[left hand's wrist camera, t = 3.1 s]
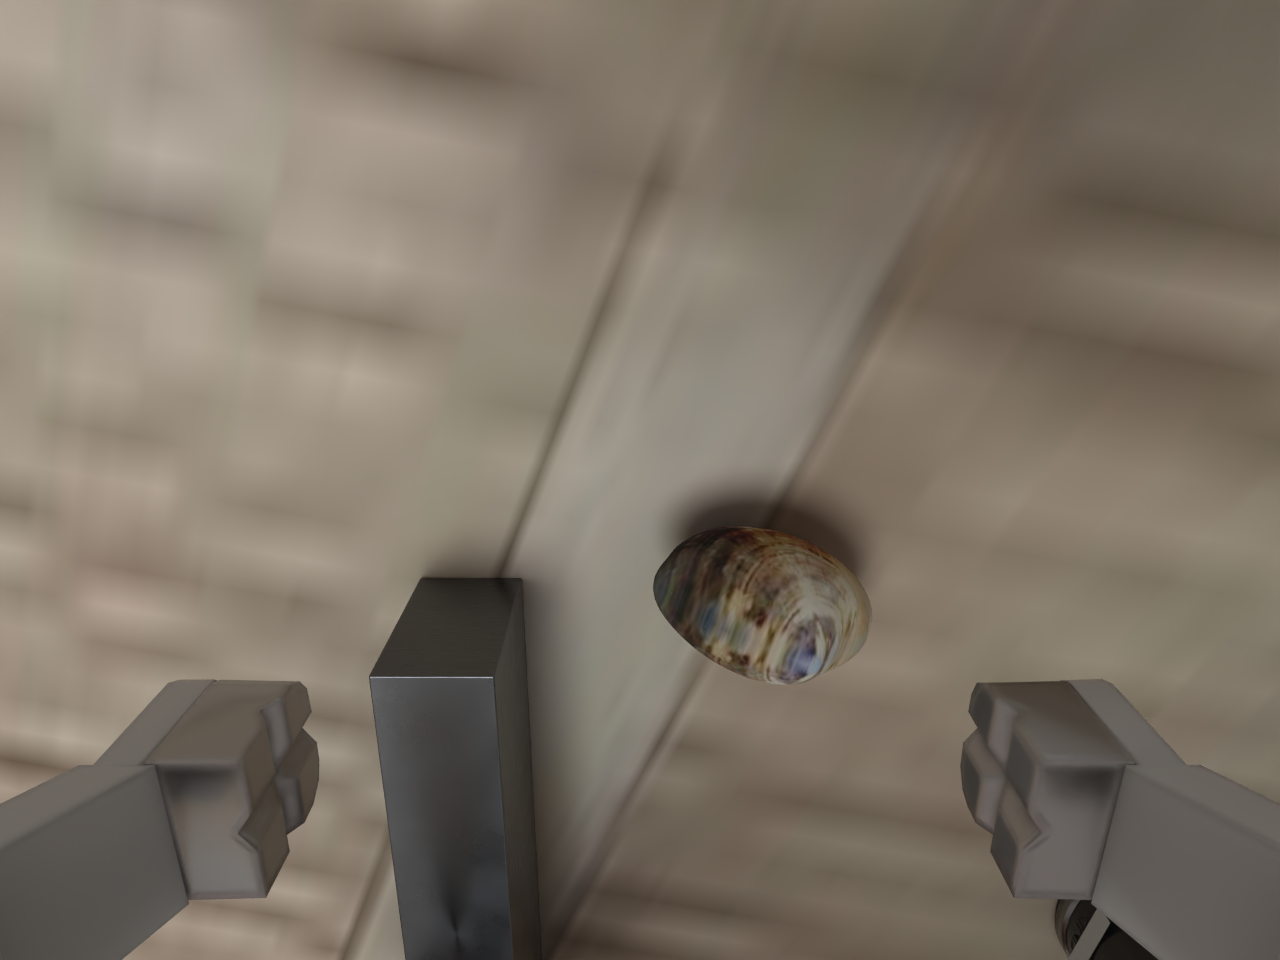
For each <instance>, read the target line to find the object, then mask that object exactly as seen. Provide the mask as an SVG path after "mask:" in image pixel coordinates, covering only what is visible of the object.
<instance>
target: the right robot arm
mask: <svg viewBox="0 0 1280 960" xmlns="http://www.w3.org/2000/svg"><path fill="white" fill-rule="evenodd" d="M1091 902H1092V900H1073V899H1061V900H1060V902H1059V905H1058V908H1057V912H1056V919H1055V927H1056V933H1057V936H1058V939H1059V941H1060V943H1061V945H1062V947H1063V949H1064V951H1065V953H1066V955H1067V956H1068V959H1069V960H1158V959H1157V958H1156V957H1155V956H1154V955H1152V954H1151V953H1150V952H1149V951H1148V950H1146V949H1145V948H1144V947H1143V946H1142V945H1140V944H1139V943H1138V942H1137V941H1135V940H1134V939H1133V938H1132V937H1131V936H1129V935H1128V934H1127V933H1126V932H1125V931H1123V930H1122V929H1121V928H1120V927H1119V926H1117V925H1116V924H1115V923H1114V922H1113V921H1111V920H1110V919H1109V918H1108V917H1107V916H1105V915H1104V914H1103V913H1102V912H1101V911H1099V910H1098V909H1097V908H1096V907H1095V906H1093V905H1092V904H1091Z"/></svg>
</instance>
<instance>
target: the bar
mask: <svg viewBox="0 0 1280 960" xmlns="http://www.w3.org/2000/svg"><path fill="white" fill-rule="evenodd" d="M369 680H370V688H371V696H372V704H373V711H374V719H375V727H376V735H377V742H378V750H379V758H380V766H381V773H382V781H383V789H384V796H385V804H386V812H387V820H388V827H389V835H390V843H391V851H392V858H393V866H394V874H395V882H396V889H397V897H398V905H399V913H400V920H401V928H402V936H403V943H404V951H405V959H406V960H542V954H541V935H540V916H539V897H538V878H537V858H536V839H535V820H534V801H533V782H532V763H531V744H530V725H529V706H528V687H527V668H526V649H525V630H524V611H523V592H522V579H420V581H419V583H418V584H417V586H416V588H415V590H414V592H413V594H412V596H411V598H410V600H409V601H408V603H407V605H406V607H405V609H404V611H403V613H402V615H401V617H400V619H399V620H398V622H397V624H396V626H395V628H394V630H393V632H392V634H391V636H390V638H389V639H388V641H387V643H386V645H385V647H384V649H383V651H382V653H381V655H380V657H379V658H378V660H377V662H376V664H375V666H374V668H373V670H372V672H371V674H370V675H369Z"/></svg>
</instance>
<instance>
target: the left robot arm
mask: <svg viewBox="0 0 1280 960" xmlns="http://www.w3.org/2000/svg"><path fill="white" fill-rule="evenodd" d="M311 712H312V711H311V706H310V701H309V696H308V691H307V688H306V687H305V686H304V685H303V684H302V683H301V682H299V681H251V680H219V681H217V680H177V681H174V682H170V683H168V684H167V685H166V686H165V687H164V688H163V689H162V690H161V691H160V692H159V694H158V695H157V696H156V697H155V698H154V699H153V700H152V701H151V702H150V703H149V704H148V706H147V707H146V708H145V709H144V710H143V711H142V712H141V713H140V714H139V715H138V717H137V718H136V719H135V720H134V721H133V722H132V723H131V724H130V725H129V726H128V727H127V729H126V730H125V731H124V732H123V733H122V734H121V735H120V736H119V737H118V738H117V739H116V741H115V742H114V743H113V744H112V745H111V746H110V747H109V748H108V749H107V750H106V752H105V753H104V754H103V755H102V756H101V757H100V758H99V759H98V760H97V761H96V762H95V764H94V765H79V766H77V767H75V768H73V769H71V770H69V771H67V772H64V773H62V774H60V775H58V776H56V777H54V778H52V779H50V780H48V781H46V782H44V783H42V784H40V785H38V786H36V787H34V788H32V789H30V790H28V791H26V792H24V793H22V794H20V795H18V796H16V797H13V798H11V799H9V800H7V801H5V802H3V803H1V804H0V960H122V959H123V958H124V957H126V956H127V955H128V954H129V953H130V952H132V951H133V950H134V949H135V948H136V947H138V946H139V945H140V944H141V943H142V942H144V941H145V940H146V939H147V938H148V937H150V936H151V935H152V934H153V933H154V932H156V931H157V930H158V929H159V928H160V927H162V926H163V925H164V924H165V923H167V922H168V921H169V920H170V919H171V918H173V917H174V916H175V915H176V914H177V913H179V912H180V911H181V910H182V909H183V908H185V907H186V906H187V905H188V903H189V902H188V900H206V899H240V898H266V897H267V895H268V893H269V891H270V889H271V887H272V885H273V883H274V881H275V879H276V877H277V875H278V873H279V871H280V870H281V868H282V866H283V864H284V862H285V860H286V858H287V856H288V854H289V852H290V850H289V844H288V839H287V834H289V833H290V832H292V831H293V830H294V829H296V828H297V827H299V826H300V825H302V824H303V823H304V822H305V820H306V818H307V816H308V814H309V812H310V810H311V808H312V806H313V804H314V799H315V795H316V790H317V786H318V781H319V755H318V748H317V742H316V741H315V740H314V739H313V738H312V737H311V736H310V735H309V734H308V733H307V732H306V731H305V730H304V729H303V728H302V727H303V726H304V724H305V722H306V720H307V719H308V717H309V715H310V714H311ZM968 712H969V714H970V715H971V717H972V719H973V720H974V722H975V724H976V726H977V727H978V728H977V729H976V730H975V731H974V732H973V733H972V734H971V735H970V736H969V737H968V738H967V739H966V740H965V741H964V742H963V749H962V757H961V765H960V767H961V778H962V789H963V792H964V796H965V799H966V802H967V806H968V808H969V810H970V812H971V814H972V816H973V818H974V820H975V822H976V823H977V824H978V825H980V826H981V827H983V828H984V829H986V830H987V831H988V832H990V833H991V834H993V839H992V844H991V850H990V852H991V854H992V856H993V858H994V860H995V862H996V864H997V866H998V868H999V869H1000V871H1001V873H1002V875H1003V877H1004V879H1005V881H1006V883H1007V885H1008V887H1009V889H1010V891H1011V893H1012V895H1013V897H1014V898H1038V899H1073V900H1092V902H1091V904H1092V905H1093V906H1095V907H1096V908H1097V909H1098V910H1099V911H1101V912H1102V913H1103V914H1104V915H1105V916H1107V917H1108V918H1109V919H1110V920H1111V921H1113V922H1114V923H1115V924H1116V925H1117V926H1119V927H1120V928H1121V929H1122V930H1123V931H1125V932H1126V933H1127V934H1128V935H1129V936H1131V937H1132V938H1133V939H1134V940H1135V941H1137V942H1138V943H1139V944H1140V945H1142V946H1143V947H1144V948H1145V949H1146V950H1148V951H1149V952H1150V953H1151V954H1152V955H1154V956H1155V957H1156V958H1157V959H1158V960H1280V804H1279V803H1277V802H1274V801H1272V800H1270V799H1268V798H1266V797H1264V796H1262V795H1260V794H1258V793H1256V792H1254V791H1252V790H1250V789H1248V788H1246V787H1244V786H1242V785H1240V784H1238V783H1236V782H1234V781H1232V780H1230V779H1228V778H1226V777H1224V776H1222V775H1220V774H1218V773H1215V772H1213V771H1211V770H1209V769H1207V768H1205V767H1203V766H1201V765H1186V764H1185V762H1184V761H1183V760H1182V759H1181V758H1180V757H1179V756H1178V755H1177V754H1176V753H1175V752H1174V750H1173V749H1172V748H1171V747H1170V746H1169V745H1168V744H1167V743H1166V742H1165V741H1164V739H1163V738H1162V737H1161V736H1160V735H1159V734H1158V733H1157V732H1156V731H1155V730H1154V729H1153V727H1152V726H1151V725H1150V724H1149V723H1148V722H1147V721H1146V720H1145V719H1144V718H1143V716H1142V715H1141V714H1140V713H1139V712H1138V711H1137V710H1136V709H1135V708H1134V707H1133V706H1132V704H1131V703H1130V702H1129V701H1128V700H1127V699H1126V698H1125V697H1124V696H1123V695H1122V694H1121V692H1120V691H1119V690H1118V689H1117V688H1116V687H1115V686H1114V685H1113V684H1112V683H1110V682H1107V681H1105V680H1103V679H1089V680H1061V681H1044V682H989V683H977V684H976V686H975V688H974V690H973V692H972V694H971V700H970V705H969V711H968Z"/></svg>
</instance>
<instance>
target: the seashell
mask: <svg viewBox="0 0 1280 960" xmlns="http://www.w3.org/2000/svg"><path fill="white" fill-rule="evenodd" d="M653 591H654V596H655V600H656V602H657V605H658V607H659V609H660V611H661V612H662V614H663V615H664V617H665V618H666V619H667V621H668V622H669V623H670V624H671V626H672V627H673V628H674V629H675V630H676V631H677V632H678V633H679V634H680V635H681V636H682V637H683V638H684V639H685V640H686V641H687V642H688V643H689V644H691V645H692V646H693V647H694V648H695V649H697V650H698V651H699V652H701V653H702V654H703V655H705V656H706V657H708V658H709V659H711V660H712V661H714V662H716V663H717V664H719V665H721V666H723V667H725V668H726V669H729V670H731V671H733V672H735V673H737V674H740V675H742V676H745V677H748V678H751V679H754V680H757V681H761V682H765V683H771V684H778V685H793V684H799V683H803V682H806V681H808V680H811V679H813V678H814V677H816V676H818V675H820V674H822V673H825V672H827V671H829V670H832V669H834V668H836V667H838V666H840V665H842V664H844V663H845V662H847V661H848V660H850V659H851V658H852V657H854V656H855V655H856V654H857V653H858V652H859V650H860V649H861V648H862V646H863V645H864V643H865V641H866V639H867V635H868V632H869V630H870V627H871V623H872V609H871V604H870V601H869V598H868V596H867V594H866V592H865V590H864V588H863V587H862V585H861V584H860V582H859V581H858V580H857V578H856V577H855V576H854V575H853V574H852V573H851V572H850V571H849V570H848V569H847V568H846V567H845V566H844V565H843V564H842V563H840V562H839V561H838V560H837V559H835V558H834V557H833V556H831V555H830V554H828V553H827V552H825V551H824V550H822V549H820V548H819V547H817V546H815V545H813V544H811V543H809V542H807V541H805V540H802V539H800V538H798V537H795V536H792V535H789V534H786V533H783V532H779V531H775V530H770V529H765V528H758V527H743V526H738V527H723V528H717V529H712V530H708V531H705V532H702V533H699V534H697V535H695V536H692V537H691V538H689V539H687V540H686V541H684V542H682V543H681V544H680V545H679V546H677V547H676V548H675V549H674V550H673V552H672V553H671V554H670V556H669V557H668V558H667V559H666V560H665V561H664V563H663V564H662V565H661V566H660V568H659V569H658V571H657V573H656V575H655V579H654V585H653Z"/></svg>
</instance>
